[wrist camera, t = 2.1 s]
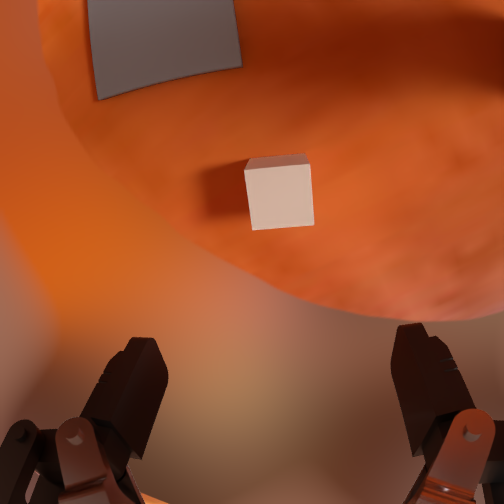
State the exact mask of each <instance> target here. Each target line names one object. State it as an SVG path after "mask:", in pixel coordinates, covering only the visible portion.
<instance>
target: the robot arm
mask: <svg viewBox="0 0 504 504" xmlns="http://www.w3.org/2000/svg"><path fill="white" fill-rule="evenodd" d="M457 368H458V367H457V365H456V363H455V361H454V360H453V357H452V355H451V353H450V351H449V349H448V347H447V345H446V344H445V343H443V342H442V341H441V340H440V339H439V338H438V337H437V336H433V337H429V336H428V334H427V332H426V330H425V328H424V326H423V324H422V323H413V324H406V325H399V326H398V328H397V332H396V337H395V342H394V347H393V352H392V357H391V374H392V378H393V382H394V385H395V389H396V392H397V396H398V400H399V403H400V407H401V410H402V414H403V418H404V422H405V426H406V430H407V434H408V439H409V443H410V447H411V451H412V456H413V457H415V456H419V455H424V459H425V464H424V466H423V468H422V470H421V472H420V473H419V475H418V477H417V479H416V481H415V483H414V485H413V486H412V488H411V490H410V491H409V493H408V495H407V496H406V498H405V500H404V501H403V503H402V504H476V501H475V500H474V494H475V491H476V489H477V486H478V484H480V483H482V487H483V493H484V498H485V504H504V421H497V420H492V418H491V417H490V416H489V415H488V414H487V413H486V412H484V411H482V410H479V409H477V408H476V407H475V405H474V403H473V400H472V398H471V396H470V394H469V391H468V389H467V387H466V384H465V382H464V380H463V378H462V376H461V374H460V372H459V370H458V369H457ZM167 384H168V370H167V367H166V364H165V362H164V360H163V357H162V355H161V353H160V350H159V348H158V345H157V343H156V341H155V339H154V338H142V337H132V338H131V339H130V340H129V342H128V344H127V346H126V348H125V349H124V351H119V352H118V353H117V354H116V355H115V356H114V357H113V358H112V359H111V360H110V361H109V362H108V364H107V366H106V368H105V370H104V373H103V374H102V375H101V377H100V379H99V383H97V384H96V386H95V388H94V390H93V392H92V394H91V396H90V397H89V399H88V401H87V403H86V405H85V407H84V409H83V411H82V413H81V415H80V416H79V417H73V418H70V419H68V420H66V421H64V423H62V424H61V425H60V426H59V428H58V429H46V430H39V428H37V426H36V425H35V424H34V423H33V422H32V421H30V420H20V421H18V422H16V423H15V424H13V425H12V426H11V428H10V429H9V431H8V433H7V435H6V437H5V439H4V441H3V443H2V445H1V447H0V504H27V503H26V500H25V493H26V490H27V488H28V485H29V483H30V480H31V478H32V475H33V473H34V470H35V471H36V472H37V473H39V474H40V475H39V478H38V481H37V483H36V486H35V488H34V491H33V494H32V496H31V499H30V502H29V503H28V504H145V502H144V500H143V498H142V496H141V493H140V491H139V489H138V487H137V485H136V482H135V480H134V478H133V475H132V473H131V471H130V468H129V466H128V465H127V463H128V461H129V458H135V459H140V460H141V459H142V457H143V454H144V451H145V448H146V445H147V442H148V439H149V436H150V433H151V430H152V427H153V424H154V422H155V419H156V416H157V413H158V410H159V407H160V404H161V401H162V399H163V396H164V393H165V390H166V387H167Z"/></svg>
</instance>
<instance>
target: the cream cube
mask: <svg viewBox="0 0 504 504" xmlns="http://www.w3.org/2000/svg"><path fill="white" fill-rule="evenodd" d="M244 174H245V181H246V188H247V195H248V202H249V209H250V216H251V223H252V230H261V229H273V228H285V227H297V226H310V225H314V213H313V198H312V185H311V172H310V163H309V161H308V159H307V156H306V154H305V153H303V154H291V155H280V156H269V157H260V158H250V159H249V161H248V163H247V165H246V167H245V169H244Z"/></svg>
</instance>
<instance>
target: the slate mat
mask: <svg viewBox="0 0 504 504" xmlns="http://www.w3.org/2000/svg"><path fill="white" fill-rule="evenodd" d="M88 17H89V30H90V41H91V50H92V59H93V67H94V75H95V82H96V89H97V96H98V100H104V99H107V98H110V97H113V96H117V95H120V94H123V93H126V92H130V91H133V90H137V89H140V88H144V87H147V86H151V85H155V84H159V83H163V82H167V81H171V80H176V79H180V78H185V77H189V76H194V75H199V74H204V73H209V72H215V71H221V70H227V69H233V68H240V67H243V64H242V57H241V50H240V43H239V37H238V30H237V23H236V17H235V10H234V3H233V0H88Z"/></svg>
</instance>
